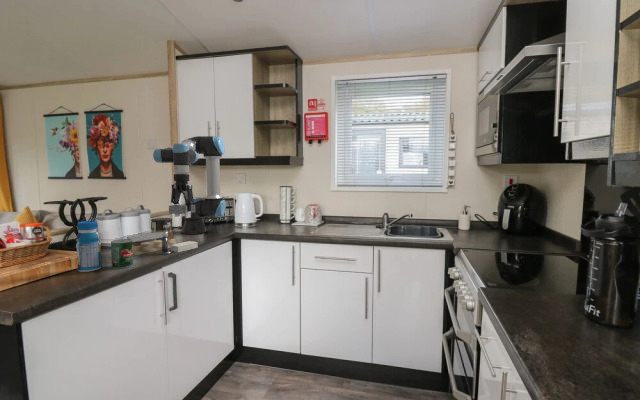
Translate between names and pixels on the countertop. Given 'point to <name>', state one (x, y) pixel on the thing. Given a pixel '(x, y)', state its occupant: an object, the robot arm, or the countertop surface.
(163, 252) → the lever post
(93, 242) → the beverage bottle
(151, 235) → the latch lever
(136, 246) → the hand plane
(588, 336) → the countertop surface
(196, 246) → the block
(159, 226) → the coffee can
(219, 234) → the countertop surface
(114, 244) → the canned tomato
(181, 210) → the grey rectangular block
